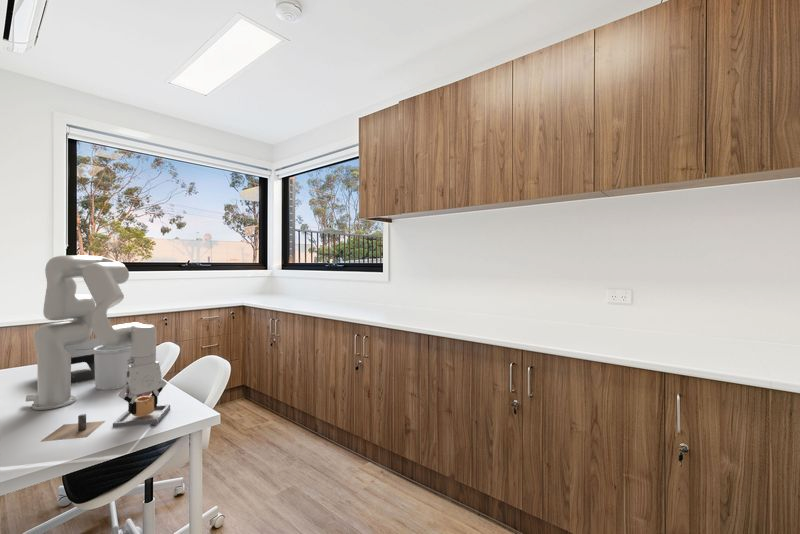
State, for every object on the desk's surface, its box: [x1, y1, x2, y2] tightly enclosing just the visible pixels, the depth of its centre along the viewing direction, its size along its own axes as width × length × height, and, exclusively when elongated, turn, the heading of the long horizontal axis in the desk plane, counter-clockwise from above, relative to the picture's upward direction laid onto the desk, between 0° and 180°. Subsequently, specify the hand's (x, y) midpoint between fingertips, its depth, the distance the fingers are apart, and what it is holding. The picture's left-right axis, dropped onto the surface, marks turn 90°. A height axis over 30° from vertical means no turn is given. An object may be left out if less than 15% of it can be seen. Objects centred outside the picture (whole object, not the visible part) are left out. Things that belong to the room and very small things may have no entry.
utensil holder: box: [93, 344, 131, 391], centre depth 166 cm, size 15×15×18 cm
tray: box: [112, 404, 171, 428], centre depth 132 cm, size 13×14×2 cm
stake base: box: [39, 413, 106, 442], centre depth 121 cm, size 12×12×6 cm
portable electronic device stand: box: [64, 337, 101, 384], centre depth 179 cm, size 26×24×16 cm
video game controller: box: [125, 392, 152, 398], centre depth 152 cm, size 10×5×7 cm, turn 72°
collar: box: [132, 396, 155, 417], centre depth 131 cm, size 6×8×5 cm
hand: (143, 409), depth 132 cm, fingers closed on collar, 6 cm apart
